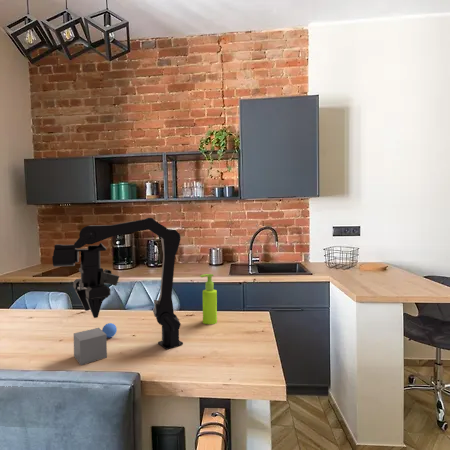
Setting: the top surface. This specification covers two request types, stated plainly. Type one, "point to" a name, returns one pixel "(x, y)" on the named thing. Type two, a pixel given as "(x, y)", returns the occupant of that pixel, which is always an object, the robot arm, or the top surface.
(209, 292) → the soap dispenser
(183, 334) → the top surface
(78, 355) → the gray rectangular platform
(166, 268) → the robot arm
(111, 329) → the ball
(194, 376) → the top surface
